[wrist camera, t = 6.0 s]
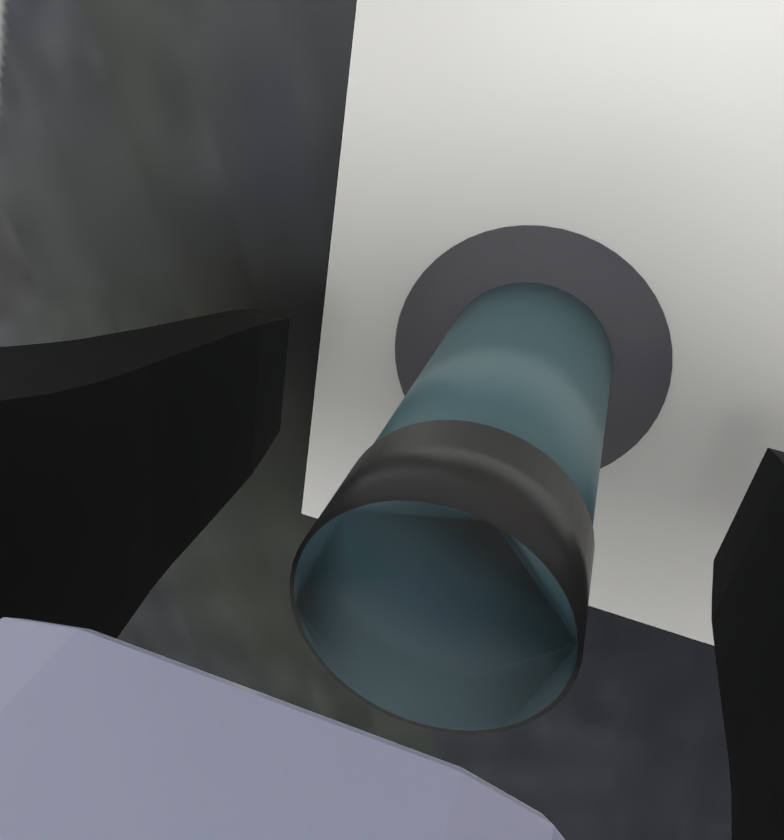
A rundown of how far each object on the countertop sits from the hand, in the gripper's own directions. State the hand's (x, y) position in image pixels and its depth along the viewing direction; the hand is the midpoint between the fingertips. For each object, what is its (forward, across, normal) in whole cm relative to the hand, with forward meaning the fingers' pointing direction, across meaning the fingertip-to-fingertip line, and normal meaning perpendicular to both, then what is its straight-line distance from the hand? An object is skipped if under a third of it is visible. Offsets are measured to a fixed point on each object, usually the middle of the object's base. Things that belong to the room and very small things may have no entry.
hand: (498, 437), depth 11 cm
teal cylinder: (+3, 0, 0) cm, 3 cm away
